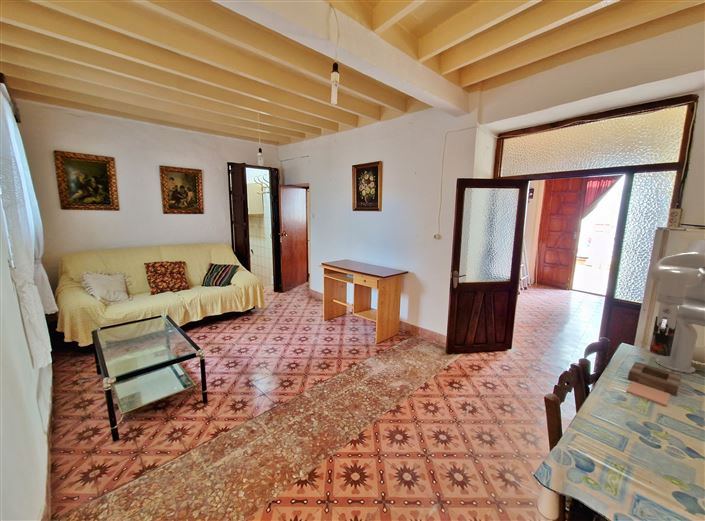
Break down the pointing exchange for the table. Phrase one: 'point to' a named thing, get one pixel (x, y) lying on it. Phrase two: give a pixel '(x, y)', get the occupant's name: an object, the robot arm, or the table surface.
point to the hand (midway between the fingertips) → (662, 340)
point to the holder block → (655, 378)
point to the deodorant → (659, 347)
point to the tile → (648, 393)
